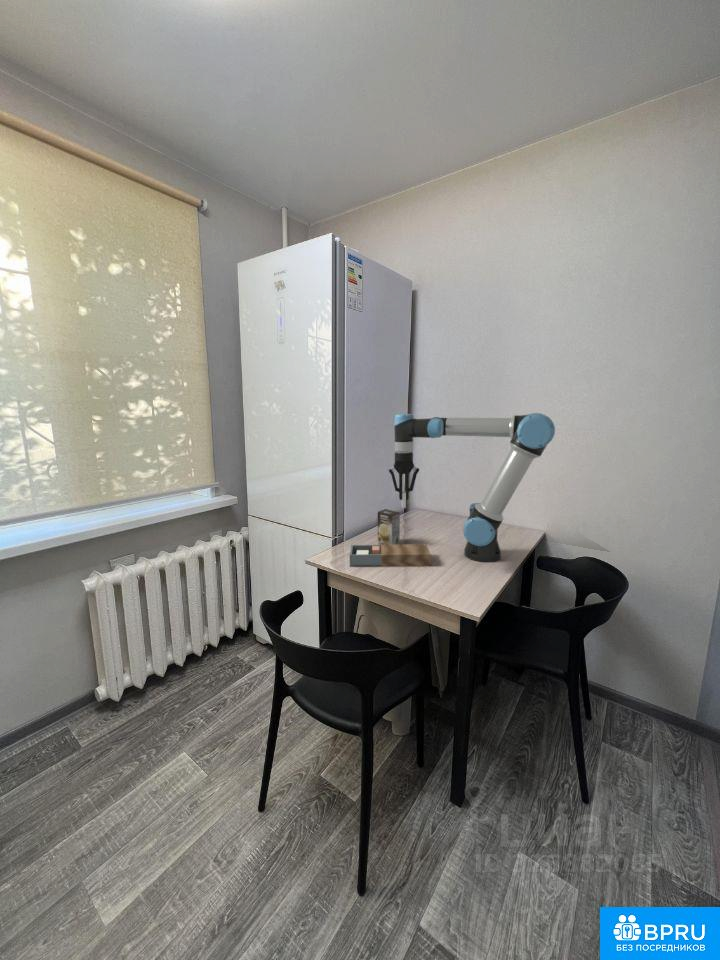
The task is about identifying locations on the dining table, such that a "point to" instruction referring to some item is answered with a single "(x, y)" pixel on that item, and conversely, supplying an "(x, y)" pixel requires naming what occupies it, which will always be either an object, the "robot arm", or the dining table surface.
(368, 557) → the box
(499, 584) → the dining table surface
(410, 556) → the wooden tile board
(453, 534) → the dining table surface
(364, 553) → the tile cream
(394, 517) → the coffee box
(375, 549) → the tile terracotta
